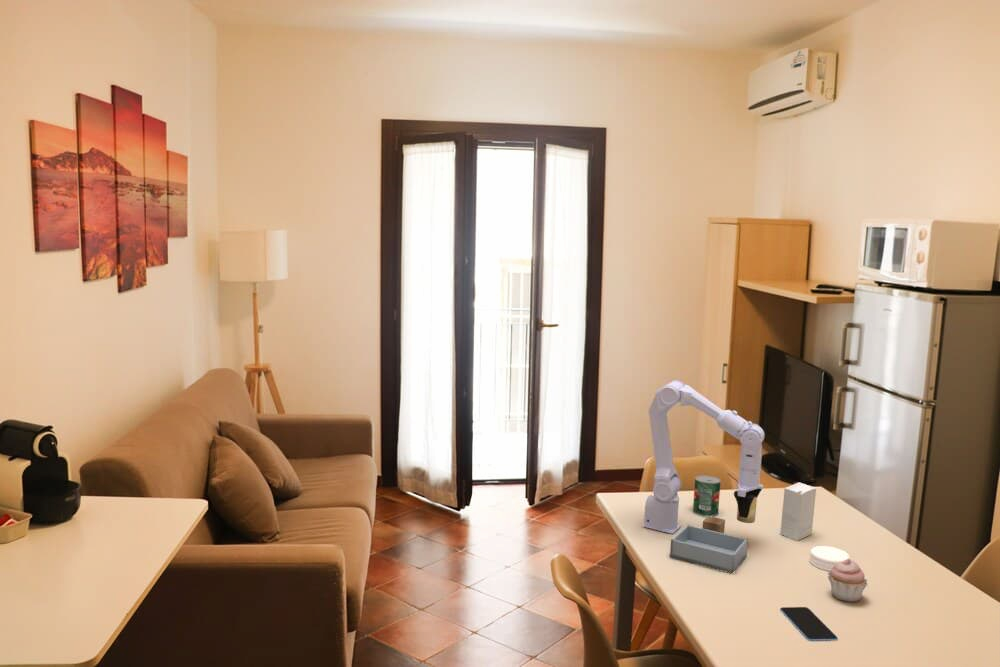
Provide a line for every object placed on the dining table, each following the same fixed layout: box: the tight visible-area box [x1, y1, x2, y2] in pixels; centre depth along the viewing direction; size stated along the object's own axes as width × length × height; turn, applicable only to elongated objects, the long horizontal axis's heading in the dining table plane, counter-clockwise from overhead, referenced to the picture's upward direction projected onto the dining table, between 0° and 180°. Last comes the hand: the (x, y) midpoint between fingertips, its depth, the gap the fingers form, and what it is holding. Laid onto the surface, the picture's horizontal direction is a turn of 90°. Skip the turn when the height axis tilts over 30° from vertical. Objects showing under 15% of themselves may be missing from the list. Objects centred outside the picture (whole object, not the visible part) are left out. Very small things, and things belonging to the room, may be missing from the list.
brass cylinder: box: [736, 494, 758, 524], centre depth 227 cm, size 5×5×7 cm
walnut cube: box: [701, 516, 726, 534], centre depth 233 cm, size 5×5×5 cm
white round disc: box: [808, 545, 851, 572], centre depth 217 cm, size 10×10×4 cm
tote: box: [669, 524, 749, 574], centre depth 219 cm, size 17×13×5 cm
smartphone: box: [779, 606, 839, 642], centre depth 184 cm, size 7×1×15 cm
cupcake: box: [827, 558, 869, 603], centre depth 197 cm, size 9×9×10 cm
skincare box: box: [780, 481, 817, 542], centre depth 235 cm, size 8×6×15 cm
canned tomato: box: [692, 474, 722, 517], centre depth 252 cm, size 8×8×11 cm
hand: (746, 514), depth 228 cm, fingers closed on brass cylinder, 5 cm apart
